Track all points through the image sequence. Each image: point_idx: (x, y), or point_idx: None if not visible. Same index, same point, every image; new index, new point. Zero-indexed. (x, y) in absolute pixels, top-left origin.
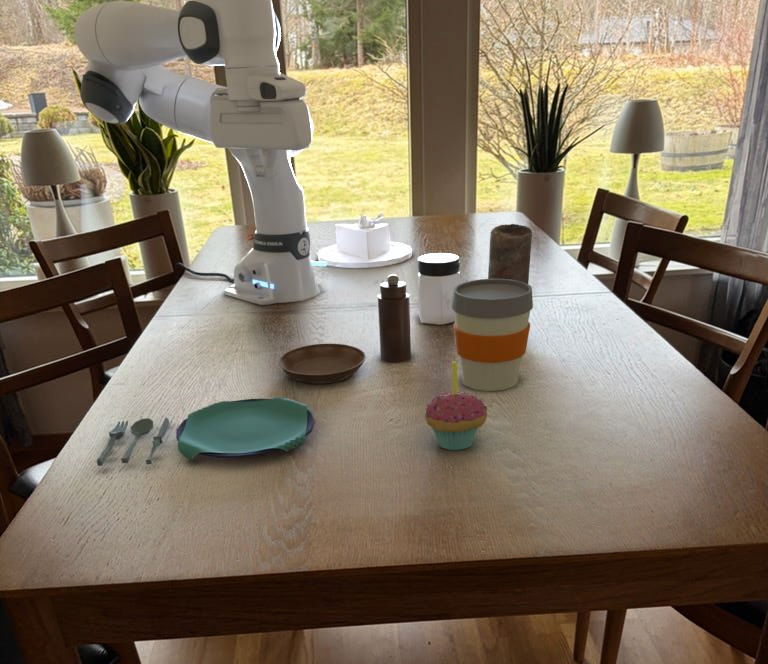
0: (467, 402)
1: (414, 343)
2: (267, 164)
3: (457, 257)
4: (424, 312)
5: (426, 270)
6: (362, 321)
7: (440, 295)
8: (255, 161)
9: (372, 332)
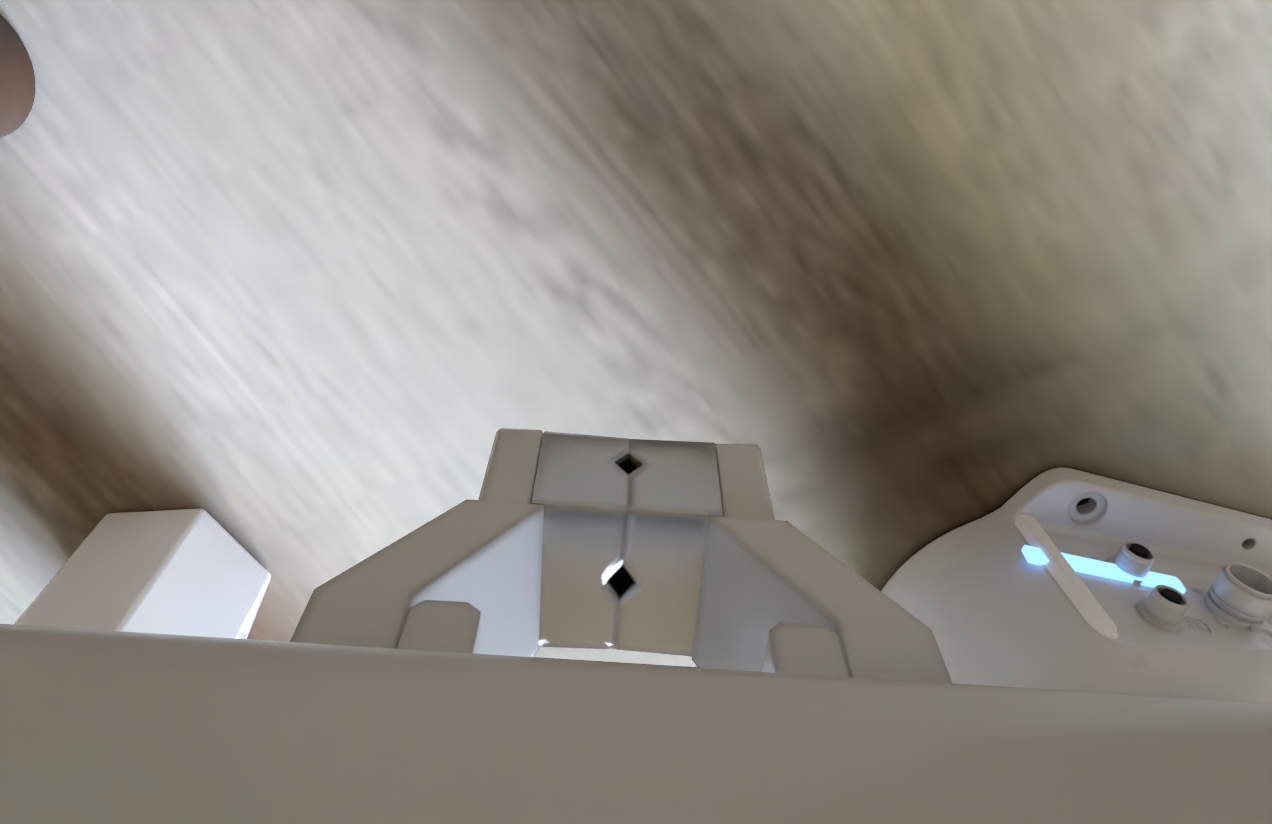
0: None
1: (37, 273)
2: (431, 529)
3: None
4: (165, 534)
5: None
6: (452, 442)
7: (46, 590)
8: (755, 602)
9: (308, 331)
